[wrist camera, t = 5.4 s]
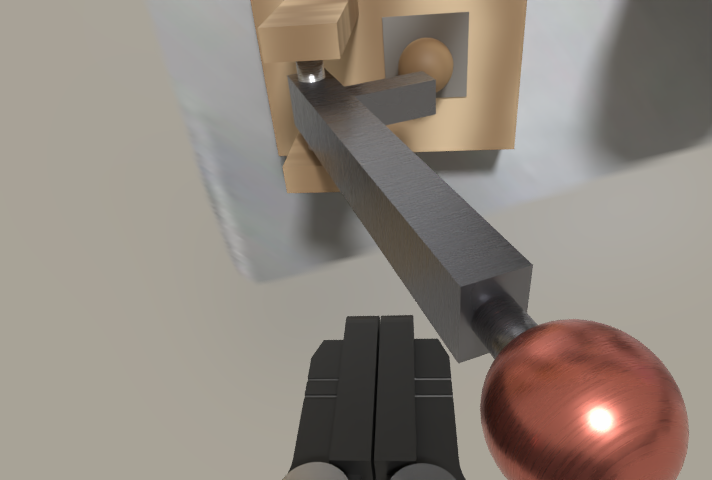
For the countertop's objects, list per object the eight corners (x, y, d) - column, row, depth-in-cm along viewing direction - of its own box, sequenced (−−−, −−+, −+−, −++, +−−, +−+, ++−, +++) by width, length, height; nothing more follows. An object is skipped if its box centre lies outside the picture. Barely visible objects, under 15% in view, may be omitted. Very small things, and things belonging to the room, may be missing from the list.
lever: (405, 33, 26) (930, 317, 9) (408, 117, 28) (826, 468, 11) (264, 58, 24) (573, 462, 7) (279, 145, 27) (539, 600, 10)
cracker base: (523, -75, 28) (566, -43, 19) (507, 127, 34) (534, 219, 26) (257, -53, 30) (189, -14, 21) (288, 135, 36) (246, 223, 27)
